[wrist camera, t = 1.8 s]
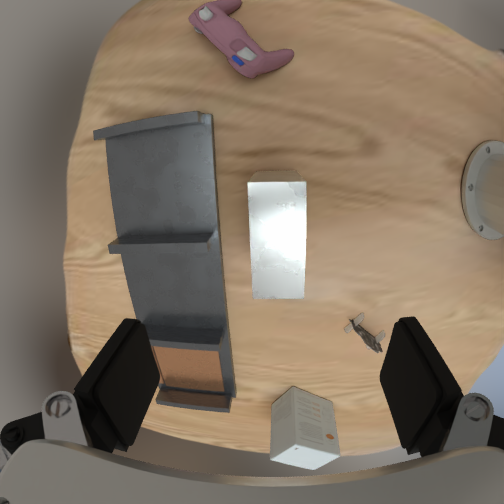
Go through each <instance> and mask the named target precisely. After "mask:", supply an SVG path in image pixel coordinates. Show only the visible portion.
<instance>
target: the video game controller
mask: <svg viewBox="0 0 504 504" xmlns="http://www.w3.org/2000/svg"><path fill="white" fill-rule="evenodd" d="M241 3H242V1H241V0H217V1H213V2H208V3H206V4H204V5H202V6H200V7H199V8H198V9H196V10H195V11H194V12H193V13H192V14H191V15H190V16H189V21H190V23H191V24H192V25H193V26H194V29H195V31H196V32H197V33H201V34H204V35H205V36H206V37H207V38H208V39H209V40H210V41H211V42H212V43H213V44H214V45H215V46H216V47H217V48H218V49H219V50H220V51H222V52H223V53H224V54H225V55H226V57H227V59H228V61H229V63H230V64H231V66H232V67H233V68H234V69H235V70H237V71H238V72H239V73H241V74H242V75H244V76H246V77H248V78H255V77H256V76H257V75H258V74H264V73H267V72H270V71H273V70H275V69H278V68H280V67H282V66H284V65H285V64H287V63H288V62H290V60H291V59H292V58H293V56H294V51H293V50H291V49H282V50H277V51H271V52H265V51H263V50H262V49H261V48H260V47H259V46H258V44H257V43H256V42H255V41H254V40H252V39H251V38H250V37H249V36H248V34H247V32H246V31H245V29H244V28H243V26H242V25H241V24H240V23H239V22H238V21H236V20H235V19H233V18H231V17H228V16H227V15H228V14H230V13H232V12H233V11H235V10H236V9H238V8H239V7H240V6H241Z"/></svg>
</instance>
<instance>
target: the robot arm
mask: <svg viewBox="0 0 504 504" xmlns="http://www.w3.org/2000/svg"><path fill="white" fill-rule="evenodd" d="M462 203H463V209H464V213H465V217H466V219H467V221H468V223H469V225H470V226H471V228H472V229H473V230H474V231H475V232H476V233H477V234H478V235H480V236H481V237H483V238H485V239H488V240H497V239H500V238H502V237H504V143H503V142H500V141H486V142H483V143H482V144H480V145H479V146H478V147H477V148H476V149H475V150H474V151H473V152H472V154H471V156H470V158H469V159H468V162H467V164H466V167H465V170H464V175H463V180H462ZM159 381H160V372H159V369H158V366H157V363H156V360H155V357H154V354H153V351H152V347H151V344H150V341H149V337H148V334H147V330H146V327H145V325H144V324H143V323H141V321H140V320H138V319H128V318H126V319H124V320H123V321H122V323H121V324H120V325H119V327H118V328H117V329H116V331H115V332H114V333H113V335H112V336H111V337H110V339H109V340H108V341H107V343H106V344H105V346H104V347H103V348H102V350H101V351H100V352H99V354H98V355H97V357H96V358H95V359H94V361H93V362H92V364H91V365H90V367H89V368H88V369H87V371H86V372H85V374H84V375H83V377H82V378H81V380H80V381H79V382H78V384H77V385H76V387H75V388H74V390H75V392H74V394H73V395H72V394H71V393H69V392H66V391H59V392H55V393H53V394H51V395H50V396H48V397H47V398H46V399H45V400H44V402H43V405H42V412H40V413H37V414H34V415H31V416H28V417H25V418H22V419H18V420H15V421H12V422H10V423H8V424H7V425H5V426H4V428H3V429H2V431H1V434H0V504H504V418H500V417H498V416H495V415H493V412H494V410H493V406H492V403H491V402H490V400H489V399H488V398H487V397H485V396H484V395H482V394H479V393H469V394H467V395H465V396H464V395H463V394H462V392H461V391H462V390H461V388H460V387H459V385H458V383H457V381H456V380H455V378H454V376H453V375H452V373H451V371H450V370H449V368H448V366H447V365H446V363H445V361H444V360H443V358H442V357H441V355H440V353H439V352H438V350H437V349H436V347H435V346H434V344H433V343H432V341H431V339H430V338H429V336H428V335H427V333H426V332H425V330H424V329H423V327H422V326H421V325H420V323H419V322H418V320H417V319H416V318H415V317H403V318H400V319H399V321H398V322H396V323H395V324H394V328H393V332H392V335H391V339H390V343H389V346H388V350H387V353H386V356H385V360H384V363H383V366H382V369H381V372H380V382H381V385H382V388H383V391H384V394H385V397H386V399H387V402H388V405H389V408H390V411H391V414H392V417H393V420H394V423H395V427H396V430H397V433H398V436H399V439H400V443H401V446H402V447H403V448H404V449H405V448H406V450H407V453H408V455H410V454H413V453H417V452H420V455H421V458H417V459H413V460H409V461H405V462H401V463H397V464H392V465H387V466H382V467H377V468H372V469H367V470H360V471H354V472H347V473H339V474H330V475H319V476H304V477H244V476H229V475H218V474H209V473H200V472H194V471H187V470H180V469H175V468H170V467H165V466H160V465H155V464H151V463H146V462H142V461H138V460H134V459H130V458H126V457H123V456H119V455H115V454H112V452H113V450H114V448H115V449H118V450H121V451H125V452H127V449H128V447H129V446H131V445H133V443H134V441H135V439H136V436H137V434H138V431H139V429H140V427H141V424H142V422H143V419H144V417H145V415H146V412H147V410H148V407H149V405H150V403H151V400H152V398H153V396H154V393H155V391H156V389H157V386H158V384H159Z"/></svg>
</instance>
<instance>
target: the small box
mask: <svg viewBox="0 0 504 504" xmlns="http://www.w3.org/2000/svg"><path fill="white" fill-rule="evenodd" d="M339 456H340V448H339V441H338V434H337V428H336V422H335V416H334V410H333V404H332V402H331V401H329V400H326V399H323V398H321V397H318V396H316V395H313V394H311V393H308V392H306V391H303V390H301V389H299V388H296V387H294V386H293V387H291V388H290V389H289V390H288V391H287V392H286V393H285V394H283V395H282V396H281V397H280V398H279V399H278V400H276V401H275V402H274V403H273V404H272V409H271V443H270V460H273V461H277V462H281V463H285V464H289V465H293V466H298V467H302V468H307V469H312V470H315V469H317V468H319V467H321V466H323V465H324V464H326V463H328V462H330V461H332V460H334V459H336V458H337V457H339Z"/></svg>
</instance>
